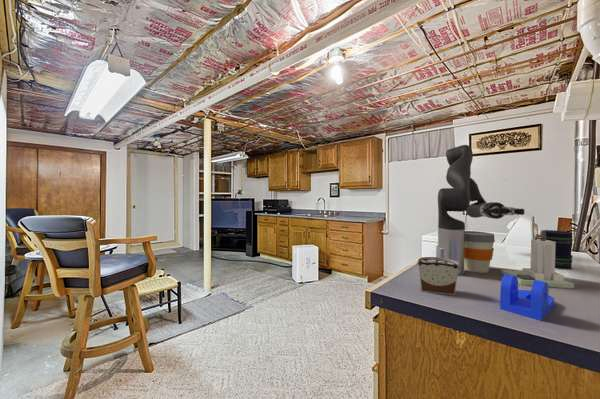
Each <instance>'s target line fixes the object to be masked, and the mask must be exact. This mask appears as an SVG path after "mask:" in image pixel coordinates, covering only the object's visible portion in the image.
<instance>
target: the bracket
mask: <svg viewBox="0 0 600 399" xmlns="http://www.w3.org/2000/svg"><path fill="white" fill-rule="evenodd" d="M530 288H531V289H530V290H528V289H519V283H518V279H517V277H516V276H513V275H508V274H505V275H503V276H502V279H501V281H500V292H499V294H500V296H499V297H500V300H499V309H500V310H502V311H504V312H508V313H512V314H515V315H518V316H519V315H520V316H522V317H525V318H528V319H533V320H535V319H536V320H535V321H539V320H540V321H539V322H542V321H543V320H544V319H545V317H547V315H548V314H549V313H550V312H551V311H552V309H553V308H554V307H555V298H554V297H553V296H551V295H549V287H548V284H547V282H543V281H538V280H534V282H533V284H532V286H531V287H530ZM543 318H544V319H543ZM542 319H543V320H542Z"/></svg>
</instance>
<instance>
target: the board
mask: <svg viewBox="0 0 600 399" xmlns="http://www.w3.org/2000/svg"><path fill="white" fill-rule="evenodd" d="M500 271H501V272H500V273H501V275H503V276H504V275H505V274H508V275H513V276H516V277H517V279H518V285H521V286H531V287H532V284H533V282H534V280H538V281H543V282H547V284H548V288H549V287H550V288H560V289H562V288H563V289H572V290H573V289H575V283H572V282H570V281H567V280H566V279H565V278H564V277H565V276H564V274H560V273H558V272H556V271H555V274H552V279H551V280H546V279H544V274H542V273H535V272H533V271H531V267H528V268H527V267H523V268H522V270H511V269H510V270H509V269H501V270H500Z"/></svg>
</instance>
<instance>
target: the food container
mask: <svg viewBox="0 0 600 399" xmlns="http://www.w3.org/2000/svg"><path fill="white" fill-rule="evenodd" d="M416 266H418V270H419V272H418V273H419V279H420V280H419V281H420V289H421V292H427V293H433V294H443V295H452V296H455V295H456V288H457V281H458V269H460V270H461V268H460V265H459V263H458V262H457V261H454V260H450V259H446V258H439V257H436V256H424V257H419V258H418V260H417V263H416Z"/></svg>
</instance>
